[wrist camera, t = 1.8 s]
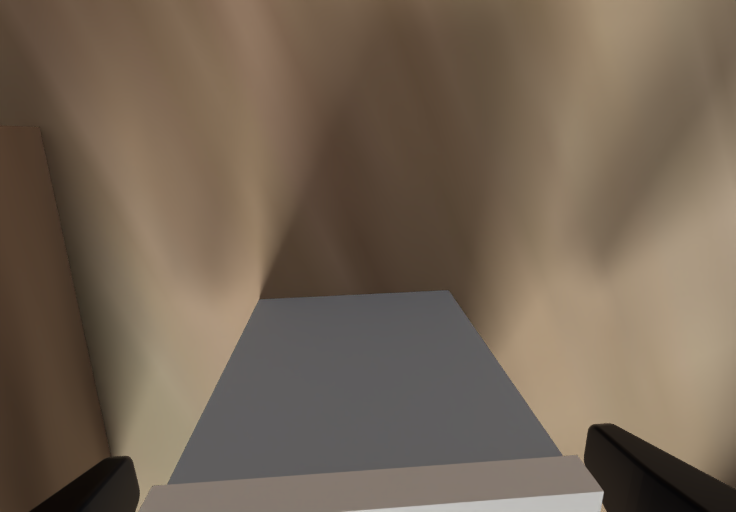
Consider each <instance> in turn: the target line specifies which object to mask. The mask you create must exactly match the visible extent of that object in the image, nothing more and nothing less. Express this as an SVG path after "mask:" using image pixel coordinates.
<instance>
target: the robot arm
mask: <svg viewBox="0 0 736 512" xmlns="http://www.w3.org/2000/svg"><path fill="white" fill-rule="evenodd" d="M584 463H585V466H586V468H587V469H588V471H589V472H590V473H591V475H592V476H593V477H594V479H595V480H596V481H597V483H598V484H599V485H600V487H601V488H602V490H603V491H604V494H603V499H602V503H603V505H604V507H605V509H606V511H607V512H736V489H734V488H732V487H730V486H728V485H727V484H725V483H723V482H721V481H719V480H717V479H715V478H713V477H712V476H710V475H708V474H706V473H704V472H702V471H700V470H698V469H697V468H695V467H693V466H691V465H689V464H687V463H685V462H683V461H682V460H680V459H678V458H676V457H674V456H672V455H670V454H668V453H667V452H665V451H663V450H661V449H659V448H657V447H655V446H653V445H652V444H650V443H648V442H646V441H644V440H642V439H640V438H638V437H637V436H635V435H633V434H631V433H629V432H627V431H625V430H623V429H622V428H620V427H618V426H616V425H614V424H611V423H604V424H593V425H591V426H590V427H589V429H588V433H587V440H586V446H585V453H584ZM139 496H140V490H139V485H138V480H137V476H136V472H135V468H134V464H133V461H132V459H131V458H130V457H129V456H116V457H108V458H105V459H103V460H102V461H100V462H99V463H97V464H96V465H95V466H93V467H92V468H90V469H89V470H87V471H86V472H85V473H83V474H82V475H80V476H79V477H77V478H76V479H75V480H73V481H72V482H70V483H69V484H67V485H66V486H65V487H63V488H62V489H60V490H59V491H57V492H56V493H55V494H53V495H52V496H50V497H49V498H47V499H46V500H45V501H43V502H42V503H40V504H39V505H38V506H36V507H35V508H33V509H32V510H30V511H29V512H135V511H136V508H137V505H138V501H139Z"/></svg>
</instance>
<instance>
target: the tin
mask: <svg viewBox="0 0 736 512" xmlns="http://www.w3.org/2000/svg"><path fill="white" fill-rule="evenodd" d="M603 494H604V491H603V490H602V488H601V487H600V485H599V484H598V483H597V481H596V480H595V479H594V477H593V476H592V475H591V473H590V472H589V471H588V469H587V468H586V466H585V465H584V464H583V462H582V461H581V460H580V458H579V457H578V456H577V455H570V456H563V455H562V454H561V452H560V451H559V449H558V448H557V446H556V445H555V444H554V442H553V441H552V439H551V438H550V436H549V435H548V433H547V432H546V430H545V429H544V428H543V426H542V425H541V423H540V422H539V420H538V419H537V417H536V416H535V415H534V413H533V412H532V410H531V409H530V407H529V406H528V404H527V403H526V402H525V400H524V399H523V397H522V396H521V394H520V393H519V391H518V390H517V389H516V387H515V386H514V384H513V383H512V381H511V380H510V378H509V377H508V376H507V374H506V373H505V371H504V370H503V368H502V367H501V365H500V364H499V363H498V361H497V360H496V358H495V357H494V355H493V354H492V352H491V351H490V349H489V348H488V347H487V345H486V344H485V342H484V341H483V339H482V338H481V336H480V335H479V334H478V332H477V331H476V329H475V328H474V326H473V325H472V323H471V322H470V321H469V319H468V318H467V316H466V315H465V313H464V312H463V310H462V309H461V308H460V306H459V305H458V303H457V302H456V300H455V299H454V297H453V296H452V295H451V293H450V292H449V290H442V291H422V292H401V293H381V294H360V295H339V296H319V297H298V298H278V299H259V301H258V303H257V305H256V307H255V309H254V311H253V313H252V315H251V317H250V319H249V321H248V323H247V325H246V327H245V329H244V331H243V333H242V335H241V337H240V339H239V341H238V343H237V345H236V347H235V349H234V351H233V353H232V355H231V357H230V359H229V361H228V363H227V365H226V367H225V369H224V371H223V373H222V375H221V377H220V379H219V381H218V383H217V385H216V387H215V389H214V391H213V393H212V395H211V397H210V399H209V401H208V403H207V405H206V407H205V409H204V411H203V413H202V415H201V417H200V419H199V421H198V423H197V425H196V427H195V429H194V431H193V433H192V435H191V437H190V439H189V441H188V443H187V445H186V447H185V449H184V451H183V453H182V455H181V458H180V460H179V462H178V464H177V466H176V468H175V470H174V472H173V474H172V476H171V478H170V480H169V482H168V484H167V485H156V486H152V487H151V489H150V491H149V493H148V495H147V496H146V498H145V500H144V502H143V504H142V506H141V508H140V509H139V511H138V512H600V510H601V505H602V499H603Z"/></svg>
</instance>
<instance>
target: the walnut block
mask: <svg viewBox="0 0 736 512" xmlns="http://www.w3.org/2000/svg"><path fill="white" fill-rule="evenodd" d="M108 457H111V454H110V449H109V445H108V440H107V436H106V431H105V426H104V422H103V417H102V413H101V408H100V403H99V399H98V394H97V390H96V385H95V380H94V376H93V371H92V367H91V362H90V357H89V353H88V348H87V344H86V339H85V334H84V330H83V325H82V321H81V316H80V311H79V307H78V302H77V297H76V293H75V288H74V284H73V279H72V274H71V270H70V265H69V261H68V256H67V251H66V247H65V242H64V238H63V233H62V228H61V224H60V219H59V215H58V210H57V205H56V201H55V196H54V192H53V187H52V182H51V178H50V173H49V169H48V164H47V159H46V155H45V150H44V146H43V141H42V136H41V132H40V127H24V126H0V512H29V511H30V510H32V509H33V508H35V507H36V506H38V505H39V504H40V503H42V502H43V501H45V500H46V499H47V498H49V497H50V496H52V495H53V494H55V493H56V492H57V491H59V490H60V489H62V488H63V487H65V486H66V485H67V484H69V483H70V482H72V481H73V480H75V479H76V478H77V477H79V476H80V475H82V474H83V473H85V472H86V471H87V470H89V469H90V468H92V467H93V466H95V465H96V464H97V463H99V462H100V461H102V460H103V459H105V458H108Z"/></svg>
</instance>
